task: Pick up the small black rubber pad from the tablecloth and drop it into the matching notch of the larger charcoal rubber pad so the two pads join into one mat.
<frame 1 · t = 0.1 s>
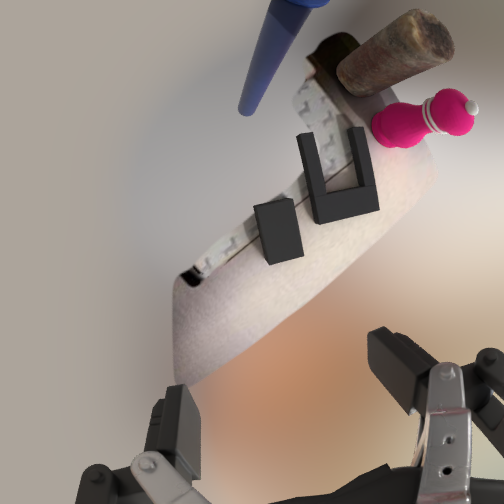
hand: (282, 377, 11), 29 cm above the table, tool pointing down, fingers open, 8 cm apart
pepper mill: (385, 129, 38), on the table
black pad: (276, 229, 39), on the table
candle: (354, 80, 36), on the table
charcoal pad: (337, 173, 39), on the table
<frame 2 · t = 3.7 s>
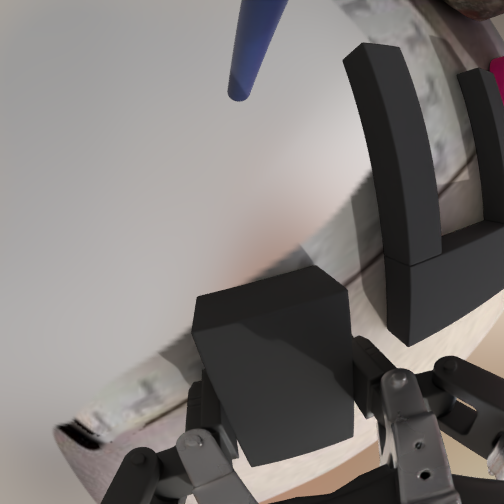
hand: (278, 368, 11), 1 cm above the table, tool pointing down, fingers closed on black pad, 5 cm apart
black pad: (276, 360, 12), on the table, touching gripper
charcoal pad: (450, 184, 11), on the table
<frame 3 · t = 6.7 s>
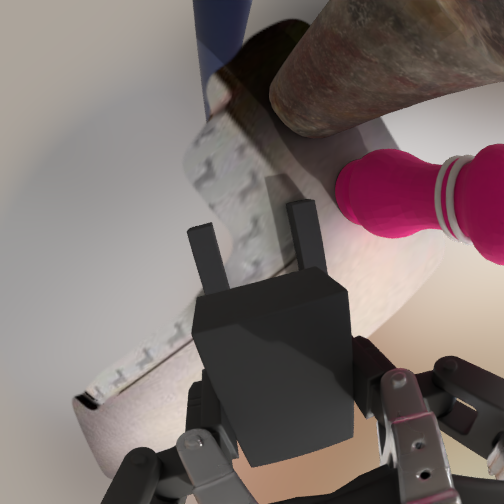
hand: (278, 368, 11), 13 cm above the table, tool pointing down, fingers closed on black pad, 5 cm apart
pepper mill: (362, 192, 24), on the table
black pad: (276, 360, 12), point 13 cm above the table, touching gripper
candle: (307, 104, 22), on the table
charcoal pad: (265, 283, 25), on the table
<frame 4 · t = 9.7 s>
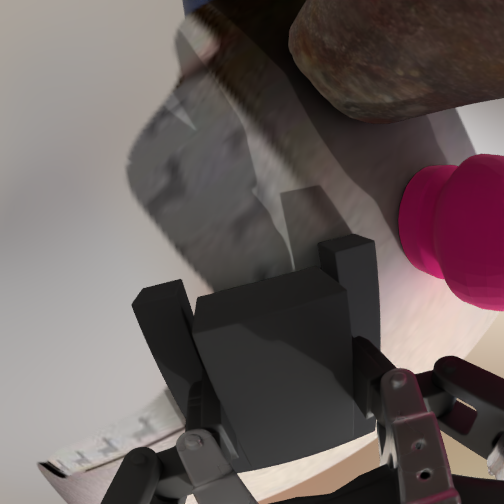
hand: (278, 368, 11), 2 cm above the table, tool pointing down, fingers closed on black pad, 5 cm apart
pepper mill: (433, 219, 14), on the table
black pad: (276, 360, 12), point 2 cm above the table, touching gripper
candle: (352, 67, 11), on the table
charcoal pad: (277, 372, 14), on the table
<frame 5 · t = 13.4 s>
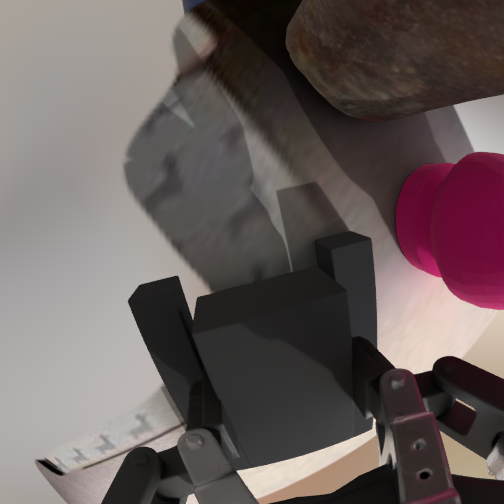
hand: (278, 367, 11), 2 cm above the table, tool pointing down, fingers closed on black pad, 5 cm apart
pepper mill: (431, 217, 14), on the table
black pad: (276, 360, 12), point 2 cm above the table, touching gripper
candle: (350, 65, 11), on the table
charcoal pad: (274, 370, 14), on the table
when the fingers open (3 cm above the table, at t = 17.0 s): black pad drops 2 cm, resting in charcoal pad.
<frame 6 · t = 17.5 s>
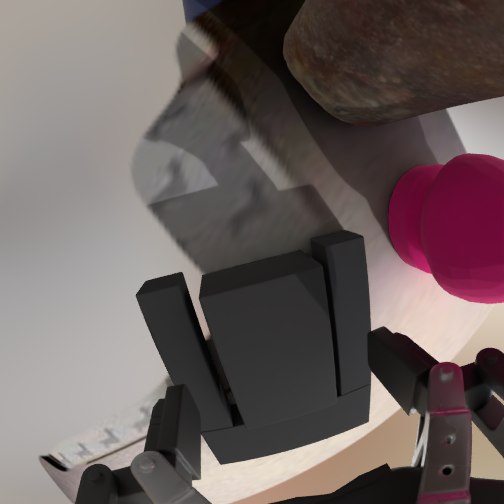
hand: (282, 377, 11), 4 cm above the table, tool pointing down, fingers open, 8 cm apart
pepper mill: (423, 216, 14), on the table
black pad: (268, 332, 14), resting in charcoal pad
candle: (344, 72, 12), on the table
charcoal pad: (273, 362, 15), on the table
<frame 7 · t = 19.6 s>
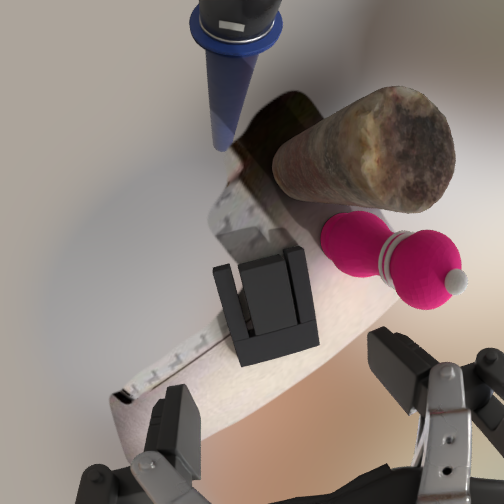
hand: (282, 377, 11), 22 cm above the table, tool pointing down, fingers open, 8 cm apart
pepper mill: (342, 237, 33), on the table
black pad: (265, 290, 33), resting in charcoal pad
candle: (301, 170, 31), on the table
charcoal pad: (268, 306, 34), on the table
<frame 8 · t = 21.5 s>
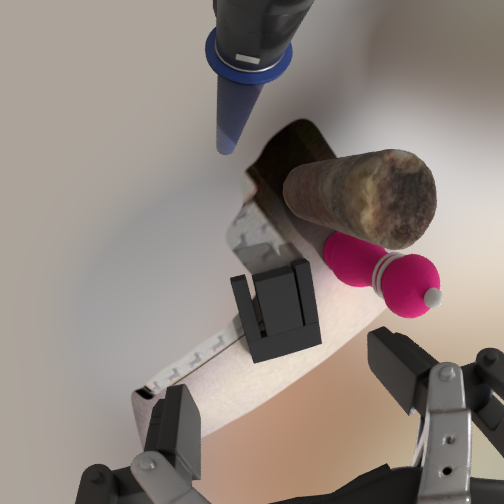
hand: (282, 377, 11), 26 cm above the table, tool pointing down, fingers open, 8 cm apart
pepper mill: (342, 250, 38), on the table
black pad: (275, 297, 38), resting in charcoal pad
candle: (308, 192, 36), on the table
charcoal pad: (277, 310, 39), on the table
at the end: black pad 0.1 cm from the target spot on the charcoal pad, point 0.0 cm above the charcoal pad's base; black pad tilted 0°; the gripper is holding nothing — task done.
